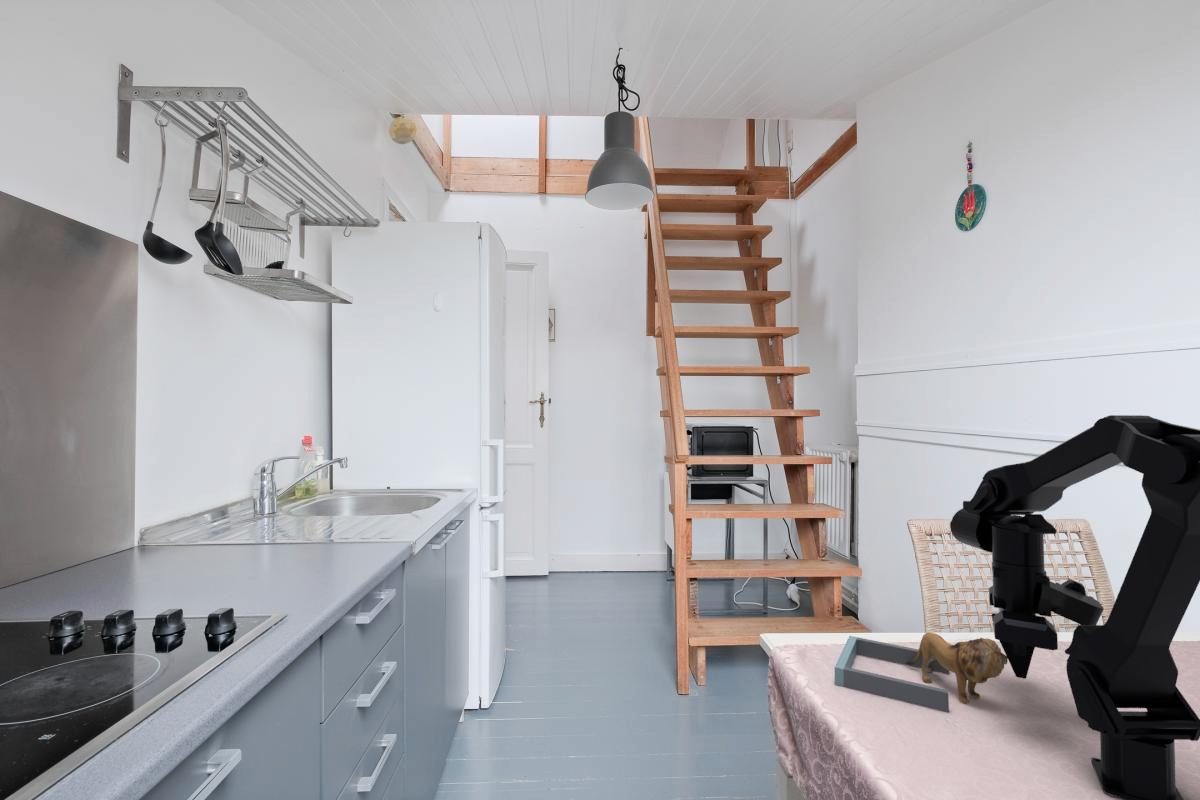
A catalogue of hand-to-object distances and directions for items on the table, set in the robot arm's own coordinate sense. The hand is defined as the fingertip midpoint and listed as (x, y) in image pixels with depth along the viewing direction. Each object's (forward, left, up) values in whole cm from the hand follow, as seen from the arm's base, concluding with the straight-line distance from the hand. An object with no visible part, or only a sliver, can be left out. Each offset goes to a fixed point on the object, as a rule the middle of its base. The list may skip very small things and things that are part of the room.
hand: (1020, 676), depth 75 cm
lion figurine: (+1, +8, -4) cm, 9 cm away
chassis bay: (0, +15, -4) cm, 16 cm away
